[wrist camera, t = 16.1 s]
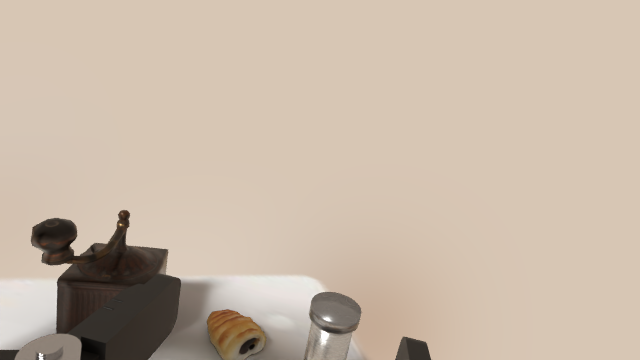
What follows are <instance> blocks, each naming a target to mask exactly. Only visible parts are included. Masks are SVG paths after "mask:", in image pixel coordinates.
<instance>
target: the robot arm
mask: <svg viewBox="0 0 640 360" xmlns="http://www.w3.org/2000/svg"><path fill="white" fill-rule="evenodd" d="M180 287H181V281H180V279H179V278H176V277H172V276H168V275H164V274H161V273H158V274H156V275H155V276H154V277H153V278H151V279H150V280H149V281H148V282H146V283H145V284H144V285H143V284H140V283H139V284H136V285H134V286H131V287H129V288H126V289H124V290H122V291H121V292H120V293H119V294H117V295H116V296H115V297H113V298H112V300H109V301H108V302H107V303H106V304H104V305H103V307H102V308H99V309H98V310H97V311H95V312H94V313H93V314H91V315H90V316H89V317H87V318H86V319H85V320H84V321H82V322H81V323H80V324H78V325H77V326H76V327H75V328H73V329H72V330H71V331H69V332H68V333H67V334H52V335H47V336H44V337H41V338H38V339H36V340H34V341H32V342H30V343H28V344H27V345H25V346H24V347H23V348H22V349H21V350H0V360H148V359H149V358H150V356H151V355H152V354H153V353H154V352H155V350H156V349H157V348H158V347H159V346H160V345H161V343H162V342H163V341H164V340H165V339H166V337H167V336H168V335H169V334H170V332H171V331H172V329H173V327H174V324H175V322H176V318H177V312H178V304H179V295H180ZM395 360H431V358H430V354H429V350H428V347H427V344H426V342H423V341H420V340H416V339H412V338H408V337H403V338H402V340H401V342H400V346H399V349H398V352H397V356H396V359H395Z"/></svg>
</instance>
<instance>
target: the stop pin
mask: <svg viewBox="0 0 640 360" xmlns="http://www.w3.org/2000/svg"><path fill="white" fill-rule="evenodd" d="M309 316H310V319H311V320H312V322H311V327H310V332H309V337H308V342H307V347H306V352H305V357H304V360H346V357H347V353H348V349H349V344H350V340H351V336H352V332H353V331H355V330H356V329H357V327H358V324H359V320H360V316H361V308H360V307H359V305H358V304H357V303H356V302H355V301H354V300H352V299H351V298H349V297H347V296H345V295H342V294H339V293H334V292H323V293H319V294H317V295H315V296H314V297H313V298H312V301H311V306H310V311H309Z"/></svg>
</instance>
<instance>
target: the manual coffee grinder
mask: <svg viewBox="0 0 640 360" xmlns="http://www.w3.org/2000/svg"><path fill="white" fill-rule="evenodd" d="M118 216H119V219H120V220H119V221H118V222H117V229H116V231H115V233H114V235H113V236H112V238H111V239H110V241H109V242H108V244H102V243H94V244H93V245H92V246H91V247H90V248H89V249H88V250H87V251H86V252H84V253H83V254H81V255H80V256H74V250H73V249H71V247H70V244H71V243H72V242H73V241H74V240H75V239H76V237H77V228H76V225H75V224H74V223H73V222H72V221H71V220H66V219H59V218H53V219H47V220H46V221H43V222H41V223H39V224H37V225H36V226H34V227H33V229H32V236H31V243H32V246H34V247H36V248H39V249H40V250H42V251H43V252H44V253H43V254H42V263H45V264H48V265H61V264H64V263H67V264H72V265H71V266H70V267H69V268H68V269H67V270H66V271H65V272H64V273H63V274H62V275H61V276H60V277H59V278H58V281H57V286H58V289H57V333H56V334H67V333H68V332H69V331H71V330H72V329H73V328H75V327H76V326H77V325H78V324H80V323H81V322H82V321H84V320H85V319H86V318H87V317H89V316H90V315H91V314H93V313H94V312H95V311H97V310H98V309H99V308H102V307H103V305H104V304H106V303H107V302H108V301H109V300H112V298H113V297H115V296H116V295H117V294H119V293H120V292H121V291H122V290H124V289H126V288H129V287H131V286H134V285H136V284H139V283H140V284H143V285H144V284H145V283H146V282H148V281H149V280H150V279H151V278H153V277H154V276H155V275H156V274H158V273H161V274H164V275H166V266H167V265H166V264H167V256H168V250H167V249H158V248H148V247H136V246H127V245H126V231H127V228H128V227H129V220H128V219H129V217H130V213H129V212H128V211H127V210H122V211H120V213H119V214H118Z"/></svg>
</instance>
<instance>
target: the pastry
mask: <svg viewBox="0 0 640 360" xmlns="http://www.w3.org/2000/svg"><path fill="white" fill-rule="evenodd" d="M207 325H208V333H209V335H210V341H211V343H212V344H213V345H214V347H215V348H216V350H217V352H218V354H219V355H220V356H221V357H222V359H223V360H244V359H245V358H247V357H248V356H249V355H251V354H255V353H257V352H259V351H261V350H262V349H263V347H264V346H265V343H266V337H265V335H264V332H263V331H261V329H260V327H259V326H258V325H257V324H256V323H255V322H253V320H252V319H251V318H250V317H245V316H243V315H240V314H239V313H238V312H235V311H231V310H222V311H215V312H212V313H211V314H210V316H209V317H208V319H207Z"/></svg>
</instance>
